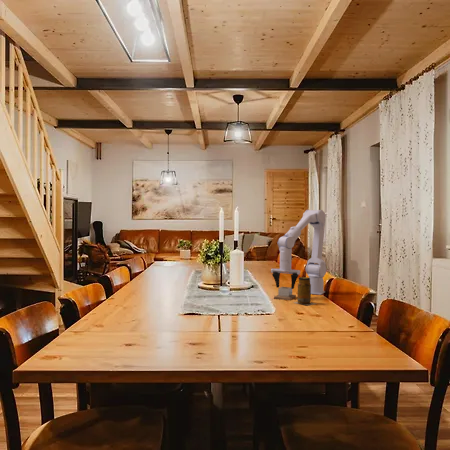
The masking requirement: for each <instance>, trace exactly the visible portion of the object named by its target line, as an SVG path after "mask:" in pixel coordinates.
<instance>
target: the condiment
mask: <svg viewBox="0 0 450 450" xmlns="http://www.w3.org/2000/svg"><path fill="white" fill-rule="evenodd" d="M311 296H312V294H311V284H310V278H309V276H308V277H305V276H302V277H299V278H298V283H297V301H294V302H293V303H294V304H298V305H303V306H313V305H317V303H314V302H311V301H312V300H311V299H312V298H311Z"/></svg>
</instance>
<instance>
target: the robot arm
mask: <svg viewBox="0 0 450 450" xmlns="http://www.w3.org/2000/svg"><path fill="white" fill-rule="evenodd" d="M326 218H327V215H326V213H325V211H324V210H323V209H306V210H305V211H304V212H303V214H302V217H301V219H299V222H298V223H297V224H296V225H295V226H291V227H289V230H288V231H286V233H285V234H284V235H283V236H280V237H279V238H278V240H277V247H278V250H279V268H271V269H270V273H272V277H273V279H274V282H275V287H276V288H277V289H278V288H280V276H281V274H289V275H290V278H291V285H290V287H291V289H292V290H293V289H294V288H295V285H296V282H297V280H298V277H299V276H300V275H301V270H299V269H294V268H293V269H292V253H293V251H292V250H293V249H292V248H294V246H295V243H296V241H297V239H298V238H299V237H300V236H301V235H302V231H303V229H305V228H306V227H307V225H310V226H312V227H313V238H312V246H311V247H312V249H311V257H310V258H309V259H308V260H307V263H306V266H305V273H306V275H307V276H308V278H310V284H311V295H320V296H321V295H324V293H326V291H325V290H324V287H325V285H324V278H323V277H325V275H326V273H327V263H326V261H325V260H324V259H323V249H324V248H323V247H324V241H325V240H324V238H325V227H326Z"/></svg>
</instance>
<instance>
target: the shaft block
mask: <svg viewBox="0 0 450 450" xmlns="http://www.w3.org/2000/svg"><path fill="white" fill-rule="evenodd" d="M296 297H297V295H296V294H292V296H290V297H281V296H278V294H277V295H275V296H274V297H273V299H274V300H283V301H291V300H293V299H295V298H296Z"/></svg>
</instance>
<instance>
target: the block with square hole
mask: <svg viewBox="0 0 450 450" xmlns="http://www.w3.org/2000/svg"><path fill="white" fill-rule="evenodd" d="M277 289H278V292H277V293H278V294H277V295H278V296H281V297H290V296H292V295H293V289H291V286H289V287H288V286H279V287H278V288H277Z"/></svg>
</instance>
